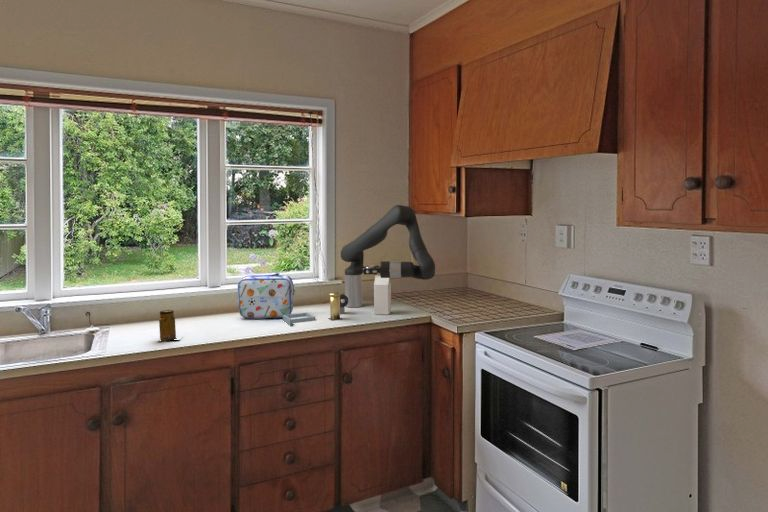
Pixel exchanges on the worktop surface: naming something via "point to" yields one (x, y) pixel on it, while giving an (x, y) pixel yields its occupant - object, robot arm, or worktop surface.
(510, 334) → the worktop surface
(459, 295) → the worktop surface
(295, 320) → the grey open frame
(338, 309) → the pin
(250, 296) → the lunch box
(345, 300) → the tensioner bracket
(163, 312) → the condiment
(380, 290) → the milk carton
